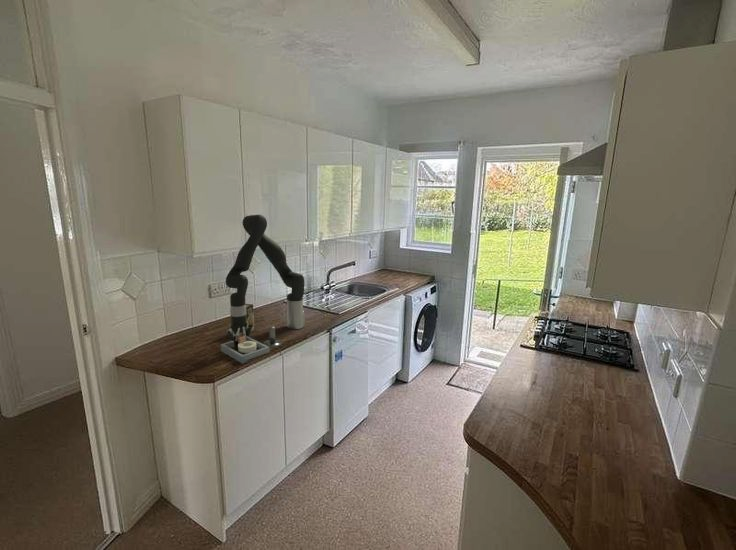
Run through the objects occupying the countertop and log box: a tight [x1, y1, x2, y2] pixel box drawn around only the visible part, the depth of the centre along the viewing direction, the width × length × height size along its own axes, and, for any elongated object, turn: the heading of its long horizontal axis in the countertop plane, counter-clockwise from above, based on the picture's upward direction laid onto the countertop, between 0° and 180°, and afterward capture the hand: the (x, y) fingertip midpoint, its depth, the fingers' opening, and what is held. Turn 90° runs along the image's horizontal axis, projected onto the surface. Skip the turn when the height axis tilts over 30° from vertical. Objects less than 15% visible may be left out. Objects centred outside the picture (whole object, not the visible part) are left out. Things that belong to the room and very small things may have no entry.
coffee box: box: [239, 303, 255, 334], centre depth 203 cm, size 9×6×16 cm
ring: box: [237, 334, 258, 354], centre depth 179 cm, size 9×13×5 cm, turn 49°
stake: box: [262, 325, 283, 348], centre depth 189 cm, size 10×10×10 cm
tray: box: [220, 336, 271, 365], centre depth 179 cm, size 15×20×4 cm
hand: (240, 345), depth 182 cm, fingers closed on ring, 3 cm apart
